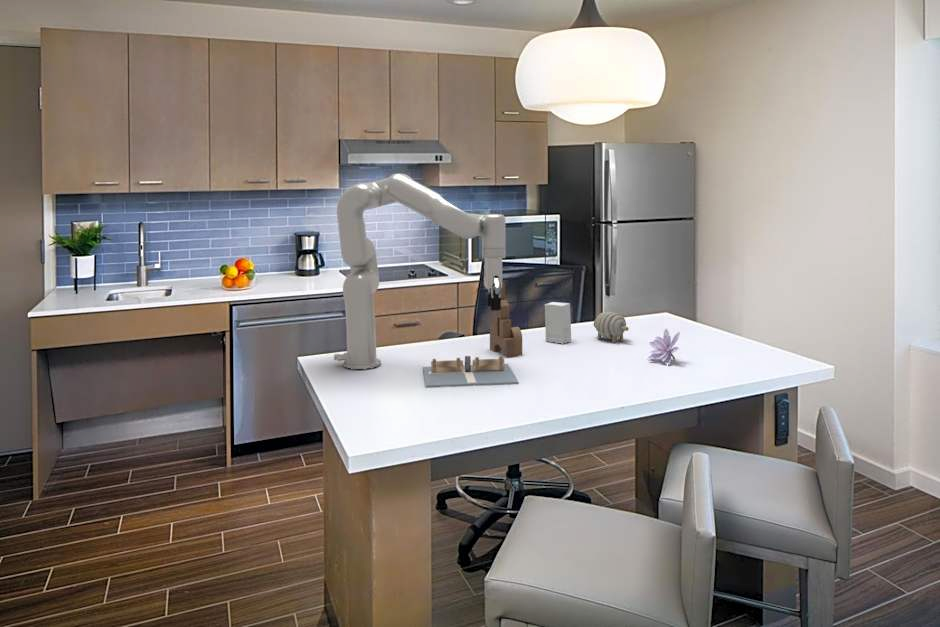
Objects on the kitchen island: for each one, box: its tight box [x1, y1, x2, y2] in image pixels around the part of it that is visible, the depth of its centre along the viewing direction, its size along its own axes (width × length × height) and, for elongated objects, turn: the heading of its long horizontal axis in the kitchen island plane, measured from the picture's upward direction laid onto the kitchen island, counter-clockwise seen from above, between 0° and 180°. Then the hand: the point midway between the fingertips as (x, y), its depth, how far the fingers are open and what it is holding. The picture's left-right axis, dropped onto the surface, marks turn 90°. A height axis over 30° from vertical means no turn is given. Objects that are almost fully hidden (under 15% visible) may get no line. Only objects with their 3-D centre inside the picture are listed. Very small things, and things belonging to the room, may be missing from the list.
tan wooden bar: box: [472, 355, 505, 371], centre depth 229 cm, size 10×1×4 cm, turn 96°
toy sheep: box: [593, 311, 630, 343], centre depth 272 cm, size 11×17×11 cm, turn 39°
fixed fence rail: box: [430, 357, 464, 372], centre depth 228 cm, size 10×1×4 cm, turn 96°
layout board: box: [422, 363, 520, 388], centre depth 226 cm, size 28×22×1 cm
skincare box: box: [544, 301, 572, 345], centre depth 270 cm, size 8×6×15 cm
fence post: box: [464, 355, 472, 372], centre depth 228 cm, size 2×2×6 cm
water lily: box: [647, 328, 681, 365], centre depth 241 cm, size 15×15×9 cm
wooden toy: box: [489, 282, 523, 358], centre depth 254 cm, size 16×7×25 cm, turn 24°
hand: (494, 307), depth 233 cm, fingers open, 6 cm apart
